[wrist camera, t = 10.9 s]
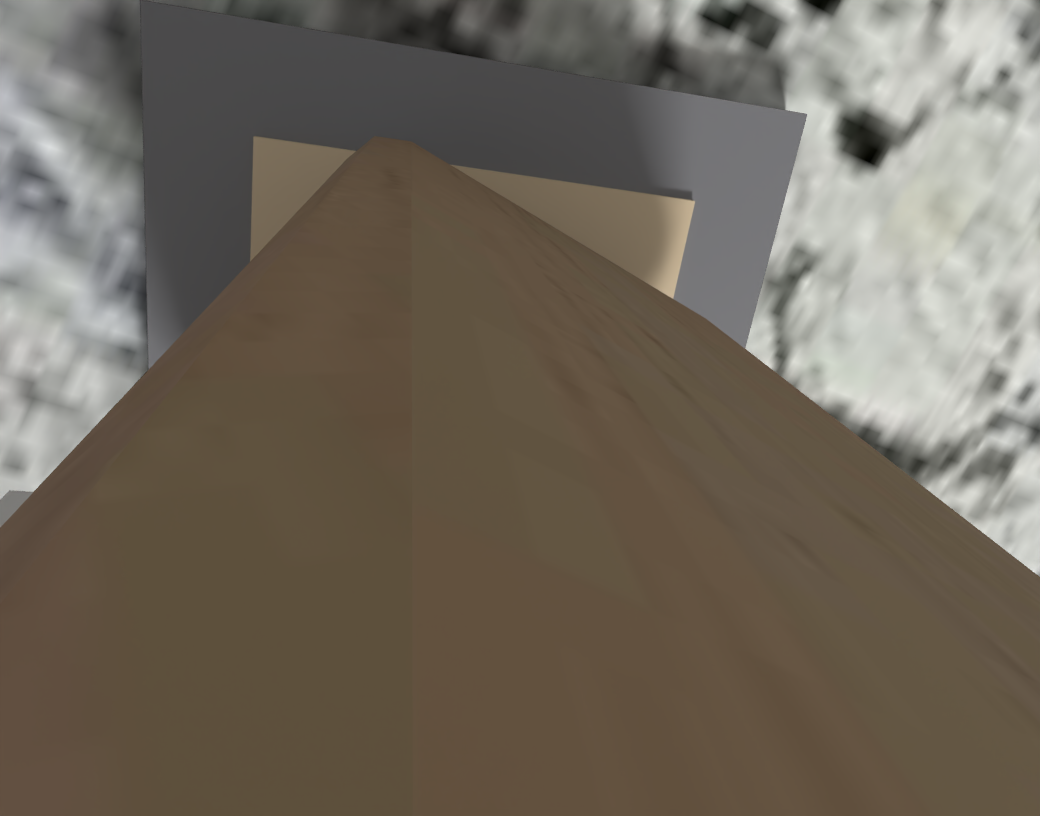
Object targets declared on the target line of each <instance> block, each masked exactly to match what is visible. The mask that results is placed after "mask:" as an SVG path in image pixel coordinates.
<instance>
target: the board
mask: <svg viewBox="0 0 1040 816" xmlns="http://www.w3.org/2000/svg"><path fill="white" fill-rule="evenodd" d="M140 15H141V60H142V105H143V149H144V194H145V239H146V284H147V329H148V370H149V369H150V368H151V367H152V366H153V365H154V363H155V362H156V361H157V360H158V359H159V358H160V357H161V356H162V355H163V354H164V353H165V352H166V351H167V350H168V349H169V348H170V346H171V345H172V344H173V343H174V342H175V341H176V340H177V339H178V338H179V337H180V336H181V335H182V334H183V333H184V332H185V330H186V329H187V328H188V327H189V326H190V325H191V324H192V323H193V322H194V321H195V320H196V319H197V318H198V317H199V316H200V315H201V313H202V312H203V311H204V310H205V309H206V308H207V307H208V306H209V305H210V304H211V303H212V302H213V301H214V300H215V299H216V298H217V296H218V295H219V294H220V293H221V292H222V291H223V290H224V289H225V288H226V287H227V286H228V285H229V284H230V283H231V282H232V280H233V279H234V278H235V277H236V276H237V275H238V274H239V273H240V272H241V271H242V270H243V269H244V268H245V267H246V266H247V265H248V263H249V262H250V261H251V260H252V259H253V258H254V257H255V256H256V255H257V254H258V253H259V252H260V251H261V250H262V249H263V248H264V246H265V245H266V244H267V243H268V242H269V241H270V240H271V239H272V238H273V237H274V236H275V235H276V234H277V233H278V232H279V230H280V229H281V228H282V227H283V226H284V225H285V224H286V223H287V222H288V221H289V220H290V219H291V218H292V217H293V216H294V215H295V213H296V212H297V211H298V210H299V209H300V208H301V207H302V206H303V205H304V204H305V203H306V202H307V201H308V200H309V199H310V198H311V196H312V195H313V194H314V193H315V192H316V191H317V190H318V189H319V188H320V187H321V186H322V185H323V184H324V183H325V182H326V180H327V179H328V178H329V177H330V176H331V175H332V174H333V173H334V172H335V171H336V170H337V169H338V168H339V167H340V166H341V165H342V163H343V162H344V161H345V160H346V159H347V158H349V157H350V156H351V155H352V154H353V153H355V152H356V151H357V150H358V149H359V148H361V147H362V146H363V145H364V144H366V143H367V142H368V141H369V140H370V139H372V138H373V137H374V136H378V137H385V138H391V139H398V140H405V141H411V142H413V143H415V144H416V145H418V146H420V147H421V148H423V149H425V150H426V151H428V152H430V153H431V154H433V155H435V156H436V157H438V158H440V159H441V160H443V161H445V162H446V163H448V164H450V165H451V166H453V167H455V168H456V169H458V170H460V171H461V172H463V173H465V174H466V175H468V176H470V177H471V178H473V179H475V180H476V181H478V182H480V183H481V184H483V185H485V186H486V187H488V188H490V189H491V190H493V191H495V192H496V193H498V194H500V195H501V196H503V197H505V198H506V199H508V200H510V201H511V202H513V203H515V204H516V205H518V206H520V207H521V208H523V209H524V210H526V211H528V212H529V213H531V214H533V215H534V216H536V217H538V218H539V219H541V220H543V221H544V222H546V223H548V224H549V225H551V226H553V227H554V228H556V229H558V230H559V231H561V232H563V233H564V234H566V235H568V236H569V237H571V238H573V239H574V240H576V241H578V242H579V243H581V244H583V245H584V246H586V247H588V248H589V249H591V250H593V251H594V252H596V253H598V254H599V255H601V256H603V257H604V258H606V259H608V260H609V261H611V262H613V263H614V264H616V265H618V266H619V267H621V268H623V269H624V270H626V271H628V272H629V273H631V274H633V275H634V276H636V277H638V278H639V279H641V280H643V281H644V282H646V283H648V284H649V285H651V286H653V287H654V288H656V289H657V290H659V291H661V292H662V293H664V294H666V295H667V296H669V297H671V298H672V299H674V300H676V301H677V302H679V303H681V304H682V305H684V306H686V307H687V308H689V309H691V310H692V311H694V312H696V313H697V314H699V315H701V316H702V317H704V318H706V319H707V320H708V321H710V322H711V323H712V324H714V325H715V326H716V327H717V328H719V329H720V330H721V331H723V332H724V333H725V334H727V335H728V336H729V337H730V338H732V339H733V340H734V341H736V342H737V343H738V344H739V345H741V346H742V347H743V348H745V347H746V343H747V339H748V335H749V332H750V328H751V324H752V320H753V317H754V313H755V309H756V305H757V301H758V298H759V294H760V290H761V286H762V283H763V279H764V275H765V271H766V268H767V264H768V260H769V256H770V253H771V249H772V245H773V241H774V238H775V234H776V230H777V226H778V223H779V219H780V215H781V211H782V208H783V204H784V200H785V196H786V193H787V189H788V185H789V181H790V177H791V174H792V170H793V166H794V162H795V159H796V155H797V151H798V147H799V144H800V140H801V136H802V132H803V129H804V125H805V121H806V117H807V114H804V113H798V112H793V111H787V110H781V109H775V108H769V107H763V106H758V105H752V104H746V103H740V102H734V101H728V100H722V99H717V98H711V97H705V96H699V95H693V94H687V93H682V92H676V91H670V90H664V89H658V88H652V87H647V86H641V85H635V84H629V83H623V82H617V81H612V80H606V79H600V78H594V77H588V76H582V75H577V74H571V73H565V72H559V71H553V70H547V69H541V68H536V67H530V66H524V65H518V64H512V63H506V62H501V61H495V60H489V59H483V58H477V57H471V56H466V55H460V54H454V53H448V52H442V51H436V50H431V49H425V48H419V47H413V46H407V45H401V44H396V43H390V42H384V41H378V40H372V39H366V38H360V37H355V36H349V35H343V34H337V33H331V32H325V31H320V30H314V29H308V28H302V27H296V26H290V25H285V24H279V23H273V22H267V21H261V20H255V19H250V18H244V17H238V16H232V15H226V14H220V13H215V12H209V11H203V10H197V9H191V8H185V7H179V6H174V5H168V4H162V3H156V2H150V1H144V0H140Z"/></svg>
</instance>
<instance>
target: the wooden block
mask: <svg viewBox="0 0 1040 816" xmlns="http://www.w3.org/2000/svg"><path fill="white" fill-rule="evenodd" d="M0 816H1040V577H1039V576H1038V575H1036V574H1035V573H1034V572H1033V571H1031V570H1030V569H1029V568H1027V567H1026V566H1025V565H1024V564H1022V563H1021V562H1020V561H1018V560H1017V559H1016V558H1014V557H1013V556H1012V555H1011V554H1009V553H1008V552H1007V551H1005V550H1004V549H1003V548H1002V547H1000V546H999V545H998V544H996V543H995V542H994V541H993V540H991V539H990V538H989V537H987V536H986V535H985V534H984V533H982V532H981V531H980V530H978V529H977V528H976V527H974V526H973V525H972V524H971V523H969V522H968V521H967V520H965V519H964V518H963V517H962V516H960V515H959V514H958V513H956V512H955V511H954V510H953V509H951V508H950V507H949V506H947V505H946V504H945V503H943V502H942V501H941V500H940V499H938V498H937V497H936V496H934V495H933V494H932V493H931V492H929V491H928V490H927V489H925V488H924V487H923V486H922V485H920V484H919V483H918V482H916V481H915V480H914V479H912V478H911V477H910V476H909V475H907V474H906V473H905V472H903V471H902V470H901V469H900V468H898V467H897V466H896V465H894V464H893V463H892V462H891V461H889V460H888V459H887V458H885V457H884V456H883V455H881V454H880V453H879V452H878V451H876V450H875V449H874V448H872V447H871V446H870V445H869V444H867V443H866V442H865V441H863V440H862V439H861V438H860V437H858V436H857V435H856V434H854V433H853V432H852V431H850V430H849V429H848V428H847V427H845V426H844V425H843V424H841V423H840V422H839V421H838V420H836V419H835V418H834V417H832V416H831V415H830V414H829V413H827V412H826V411H825V410H823V409H822V408H821V407H819V406H818V405H817V404H816V403H814V402H813V401H812V400H810V399H809V398H808V397H807V396H805V395H804V394H803V393H801V392H800V391H799V390H798V389H796V388H795V387H794V386H792V385H791V384H790V383H789V382H787V381H786V380H785V379H783V378H782V377H781V376H779V375H778V374H777V373H776V372H774V371H773V370H772V369H770V368H769V367H768V366H767V365H765V364H764V363H763V362H761V361H760V360H759V359H758V358H756V357H755V356H754V355H752V354H751V353H750V352H748V351H747V350H746V349H745V348H743V347H742V346H741V345H739V344H738V343H737V342H736V341H734V340H733V339H732V338H730V337H729V336H728V335H727V334H725V333H724V332H723V331H721V330H720V329H719V328H717V327H716V326H715V325H714V324H712V323H711V322H710V321H708V320H707V319H706V318H704V317H702V316H701V315H699V314H697V313H696V312H694V311H692V310H691V309H689V308H687V307H686V306H684V305H682V304H681V303H679V302H677V301H676V300H674V299H672V298H671V297H669V296H667V295H666V294H664V293H662V292H661V291H659V290H657V289H656V288H654V287H653V286H651V285H649V284H648V283H646V282H644V281H643V280H641V279H639V278H638V277H636V276H634V275H633V274H631V273H629V272H628V271H626V270H624V269H623V268H621V267H619V266H618V265H616V264H614V263H613V262H611V261H609V260H608V259H606V258H604V257H603V256H601V255H599V254H598V253H596V252H594V251H593V250H591V249H589V248H588V247H586V246H584V245H583V244H581V243H579V242H578V241H576V240H574V239H573V238H571V237H569V236H568V235H566V234H564V233H563V232H561V231H559V230H558V229H556V228H554V227H553V226H551V225H549V224H548V223H546V222H544V221H543V220H541V219H539V218H538V217H536V216H534V215H533V214H531V213H529V212H528V211H526V210H524V209H523V208H521V207H520V206H518V205H516V204H515V203H513V202H511V201H510V200H508V199H506V198H505V197H503V196H501V195H500V194H498V193H496V192H495V191H493V190H491V189H490V188H488V187H486V186H485V185H483V184H481V183H480V182H478V181H476V180H475V179H473V178H471V177H470V176H468V175H466V174H465V173H463V172H461V171H460V170H458V169H456V168H455V167H453V166H451V165H450V164H448V163H446V162H445V161H443V160H441V159H440V158H438V157H436V156H435V155H433V154H431V153H430V152H428V151H426V150H425V149H423V148H421V147H420V146H418V145H416V144H415V143H413V142H411V141H405V140H398V139H391V138H385V137H378V136H374V137H373V138H372V139H370V140H369V141H368V142H367V143H366V144H364V145H363V146H362V147H361V148H359V149H358V150H357V151H356V152H355V153H353V154H352V155H351V156H350V157H349V158H347V159H346V160H345V161H344V162H343V163H342V165H341V166H340V167H339V168H338V169H337V170H336V171H335V172H334V173H333V174H332V175H331V176H330V177H329V178H328V179H327V180H326V182H325V183H324V184H323V185H322V186H321V187H320V188H319V189H318V190H317V191H316V192H315V193H314V194H313V195H312V196H311V198H310V199H309V200H308V201H307V202H306V203H305V204H304V205H303V206H302V207H301V208H300V209H299V210H298V211H297V212H296V213H295V215H294V216H293V217H292V218H291V219H290V220H289V221H288V222H287V223H286V224H285V225H284V226H283V227H282V228H281V229H280V230H279V232H278V233H277V234H276V235H275V236H274V237H273V238H272V239H271V240H270V241H269V242H268V243H267V244H266V245H265V246H264V248H263V249H262V250H261V251H260V252H259V253H258V254H257V255H256V256H255V257H254V258H253V259H252V260H251V261H250V262H249V263H248V265H247V266H246V267H245V268H244V269H243V270H242V271H241V272H240V273H239V274H238V275H237V276H236V277H235V278H234V279H233V280H232V282H231V283H230V284H229V285H228V286H227V287H226V288H225V289H224V290H223V291H222V292H221V293H220V294H219V295H218V296H217V298H216V299H215V300H214V301H213V302H212V303H211V304H210V305H209V306H208V307H207V308H206V309H205V310H204V311H203V312H202V313H201V315H200V316H199V317H198V318H197V319H196V320H195V321H194V322H193V323H192V324H191V325H190V326H189V327H188V328H187V329H186V330H185V332H184V333H183V334H182V335H181V336H180V337H179V338H178V339H177V340H176V341H175V342H174V343H173V344H172V345H171V346H170V348H169V349H168V350H167V351H166V352H165V353H164V354H163V355H162V356H161V357H160V358H159V359H158V360H157V361H156V362H155V363H154V365H153V366H152V367H151V368H150V369H149V370H148V371H147V372H146V373H145V374H144V375H143V376H142V377H141V378H140V379H139V380H138V382H137V383H136V384H135V385H134V386H133V387H132V388H131V389H130V390H129V391H128V392H127V393H126V394H125V395H124V396H123V398H122V399H121V400H120V401H119V402H118V403H117V404H116V405H115V406H114V407H113V408H112V409H111V410H110V411H109V412H108V413H107V415H106V416H105V417H104V418H103V419H102V420H101V421H100V422H99V423H98V424H97V425H96V426H95V427H94V428H93V429H92V430H91V432H90V433H89V434H88V435H87V436H86V437H85V438H84V439H83V440H82V441H81V442H80V443H79V444H78V445H77V446H76V448H75V449H74V450H73V451H72V452H71V453H70V454H69V455H68V456H67V457H66V458H65V459H64V460H63V461H62V462H61V463H60V465H59V466H58V467H57V468H56V469H55V470H54V471H53V472H52V473H51V474H50V475H49V476H48V477H47V478H46V479H45V480H44V482H43V483H42V484H41V485H40V486H39V487H38V488H37V489H36V490H35V491H34V492H33V493H32V494H31V495H30V496H29V498H28V499H27V500H26V501H25V502H24V503H23V504H22V505H21V506H20V507H19V508H18V509H17V510H16V511H15V512H14V513H13V515H12V516H11V517H10V518H9V519H8V520H7V521H6V522H5V523H4V524H3V525H2V526H1V527H0Z"/></svg>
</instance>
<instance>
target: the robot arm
mask: <svg viewBox="0 0 1040 816" xmlns="http://www.w3.org/2000/svg"><path fill="white" fill-rule="evenodd" d="M32 493H33V492H25V491H9V492H8V493H7V494H6V495H5V496H4V497H3V498H2V499H1V500H0V527H1V526H2V525H3V524H4V523H5V522H6V521H7V520H8V519H9V518H10V517H11V516H12V515H13V513H14V512H15V511H16V510H17V509H18V508H19V507H20V506H21V505H22V504H23V503H24V502H25V501H26V500H27V499H28V498H29V496H30V495H31V494H32Z"/></svg>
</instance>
